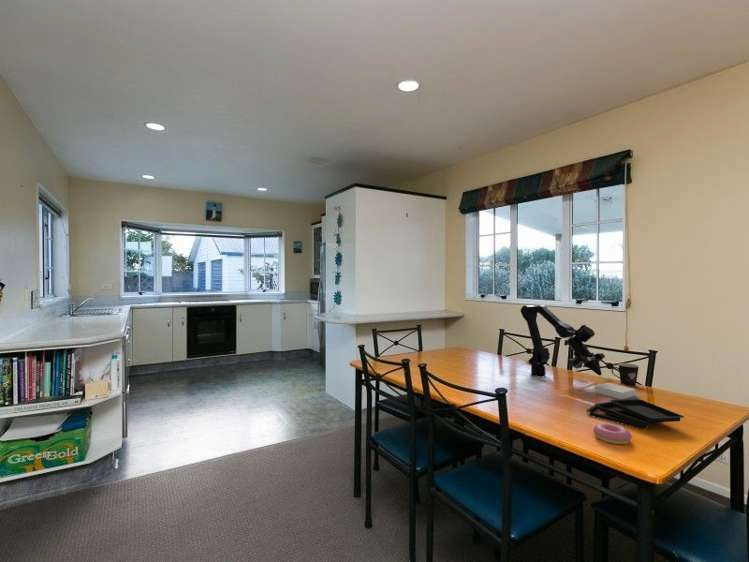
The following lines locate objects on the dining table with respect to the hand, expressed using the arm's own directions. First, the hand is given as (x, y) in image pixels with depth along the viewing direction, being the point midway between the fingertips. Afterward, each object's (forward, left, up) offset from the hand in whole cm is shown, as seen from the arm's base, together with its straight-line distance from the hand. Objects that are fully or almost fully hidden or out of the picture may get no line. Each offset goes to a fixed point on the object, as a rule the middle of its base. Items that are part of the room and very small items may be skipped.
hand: (600, 375), depth 178 cm
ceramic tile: (+1, 0, -6) cm, 6 cm away
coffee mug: (+9, +23, -8) cm, 27 cm away
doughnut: (+7, -58, -9) cm, 59 cm away
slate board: (+5, -2, -8) cm, 10 cm away
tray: (+13, -32, -9) cm, 35 cm away
